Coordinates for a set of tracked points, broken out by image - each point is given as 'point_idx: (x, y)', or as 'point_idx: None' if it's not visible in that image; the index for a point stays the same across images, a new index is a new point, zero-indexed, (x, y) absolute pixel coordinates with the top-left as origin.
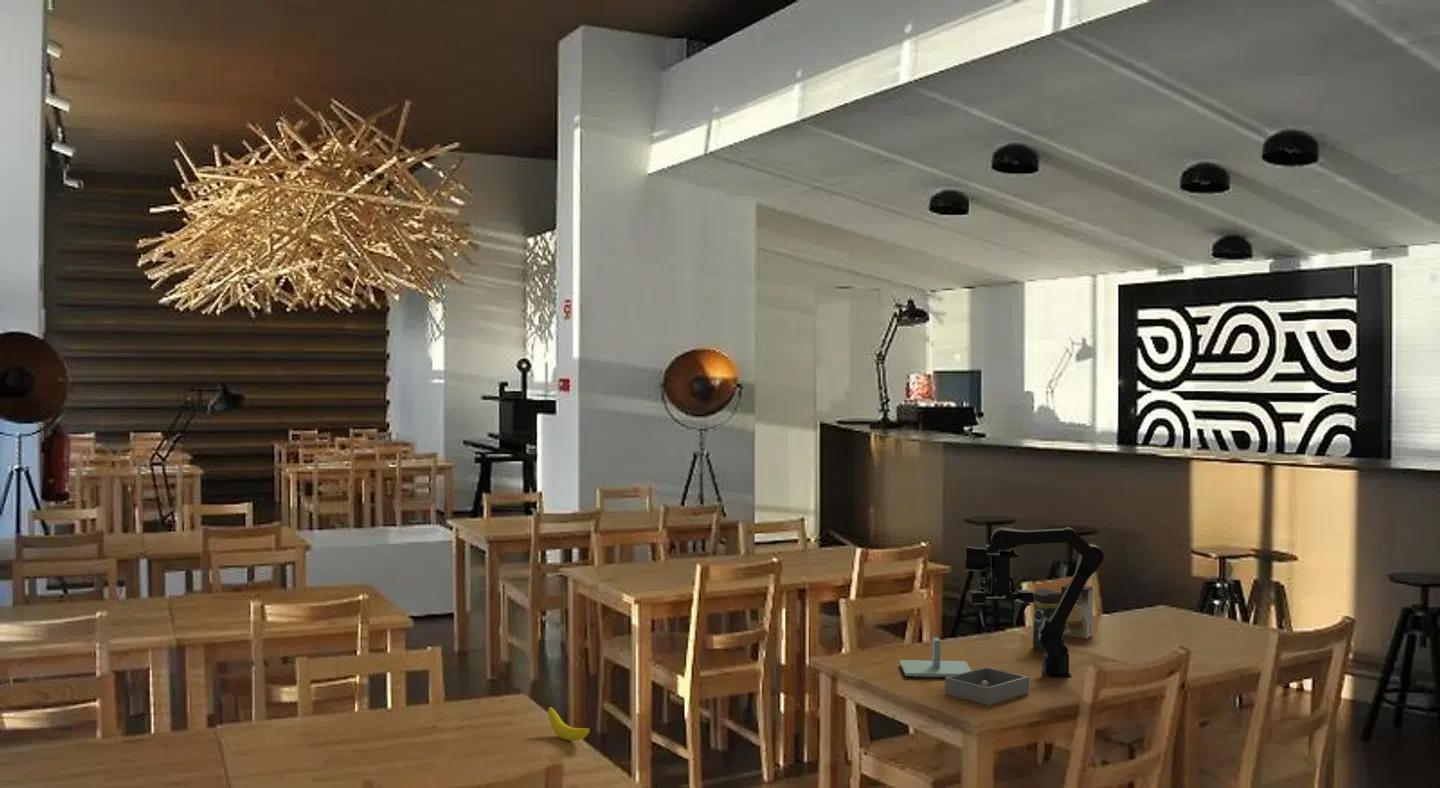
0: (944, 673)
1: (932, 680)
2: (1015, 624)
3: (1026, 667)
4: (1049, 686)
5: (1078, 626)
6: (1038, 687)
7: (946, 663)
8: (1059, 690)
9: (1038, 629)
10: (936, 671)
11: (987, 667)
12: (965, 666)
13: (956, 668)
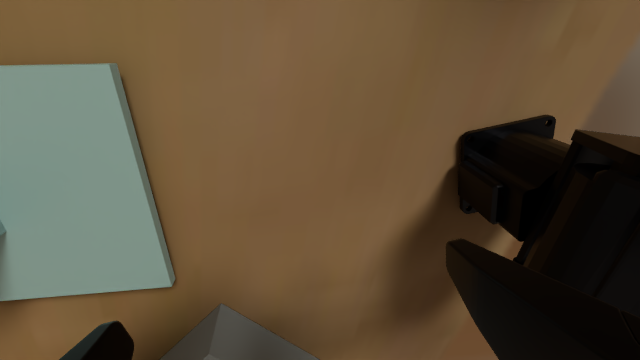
0: (49, 296)
1: None
2: (459, 291)
3: (427, 52)
4: (415, 303)
5: None
6: (380, 316)
7: (10, 129)
8: (428, 332)
9: (620, 262)
10: (5, 274)
11: (215, 358)
12: (123, 179)
13: (85, 218)
